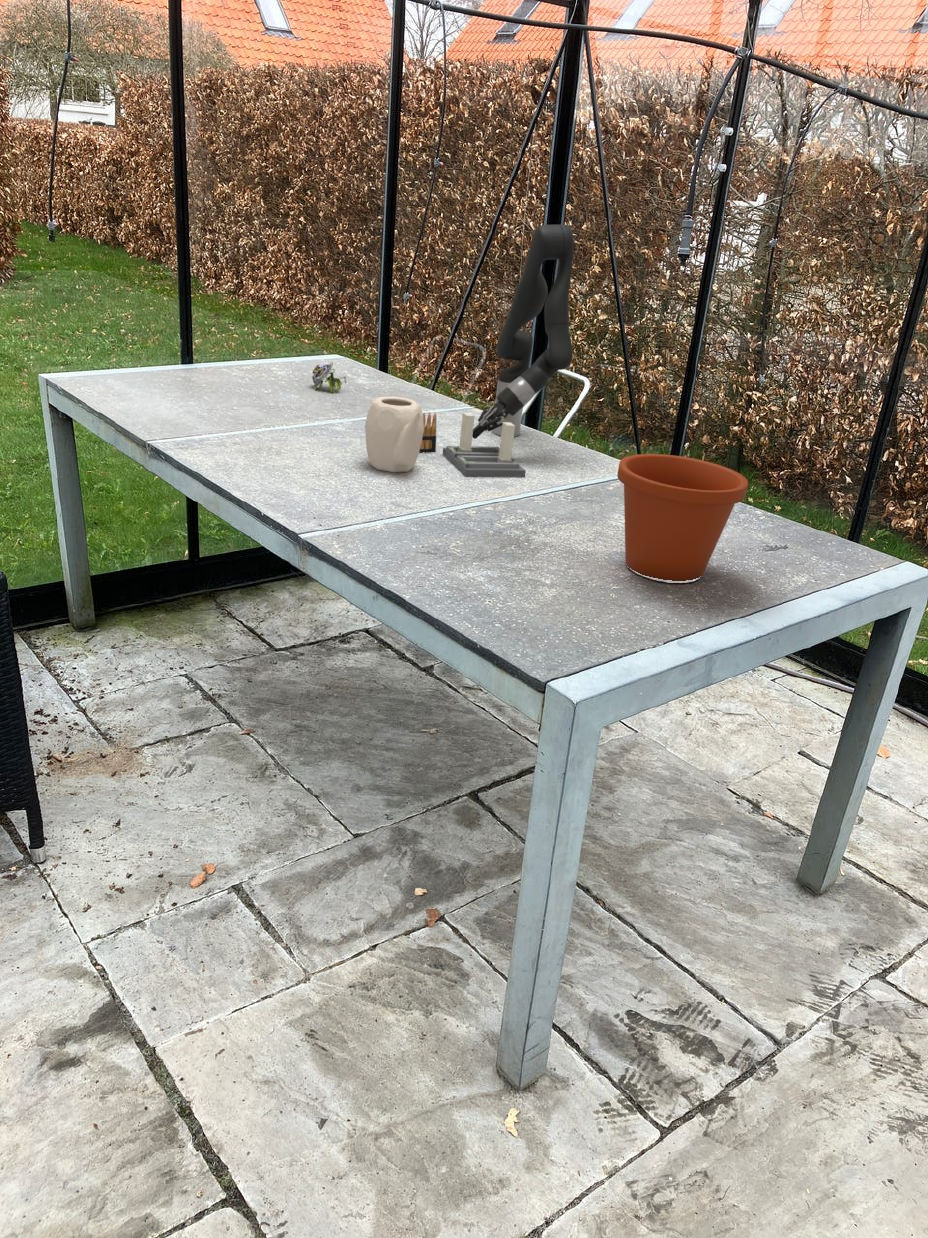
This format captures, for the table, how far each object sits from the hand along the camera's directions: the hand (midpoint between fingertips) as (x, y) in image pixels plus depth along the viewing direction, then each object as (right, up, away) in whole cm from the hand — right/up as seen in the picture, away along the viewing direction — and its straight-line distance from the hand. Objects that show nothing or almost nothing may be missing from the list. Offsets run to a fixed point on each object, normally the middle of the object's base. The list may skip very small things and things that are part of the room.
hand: (472, 436), depth 285 cm
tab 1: (-2, -5, +2) cm, 5 cm away
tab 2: (+9, -9, -4) cm, 13 cm away
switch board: (+3, -9, 0) cm, 9 cm away
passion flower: (-52, +30, +69) cm, 92 cm away
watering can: (-22, -12, -13) cm, 28 cm away
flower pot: (+43, -42, -63) cm, 87 cm away
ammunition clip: (-16, -4, +6) cm, 17 cm away
